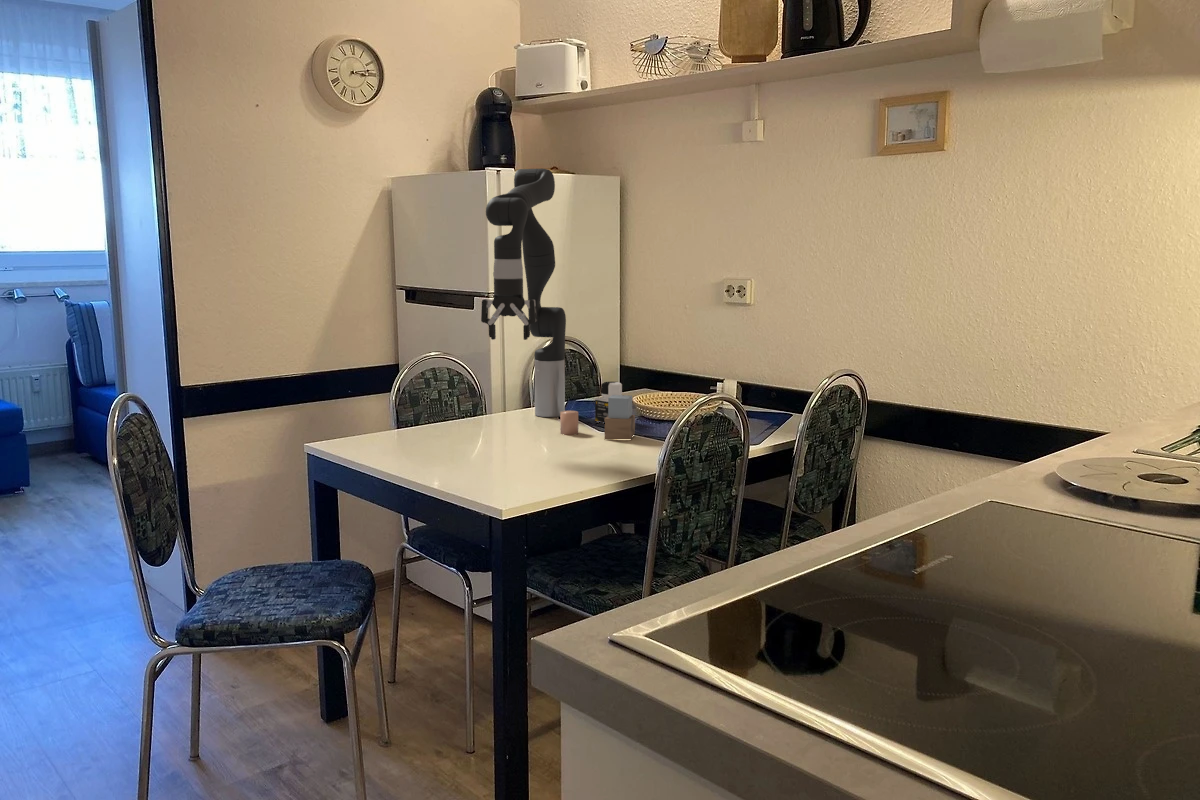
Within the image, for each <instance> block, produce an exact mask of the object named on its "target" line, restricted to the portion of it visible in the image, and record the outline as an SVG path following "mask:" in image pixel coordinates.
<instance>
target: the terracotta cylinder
mask: <svg viewBox="0 0 1200 800" xmlns="http://www.w3.org/2000/svg"><path fill="white" fill-rule="evenodd" d="M559 417H560V425H559V426H560V435H563V434H564V436H575V435H574V434H576V435H578V434H579V411H577V410H565V411H561V412H560V416H559Z"/></svg>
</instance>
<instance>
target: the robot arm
mask: <svg viewBox="0 0 1200 800" xmlns="http://www.w3.org/2000/svg"><path fill="white" fill-rule="evenodd" d="M513 177H514V178H513V186H514V188H512V189H510V190H509V191H508V192H507V193H503V194H499V195H496V196H494V197H492V198H491V199H490V200H488V202H487V204H486V207H485V216H486V219H487V221H488V222H489V223H490V224H491V225H493V226H496V227H497V226H498V227H500V226H501V227H503V226H506V227H508V226H509V227H510V226H511V227H512V228H511V230H510V232H509V233H506V234H501V235H498V236H496V237H495V238H494V241H493V255H494V256H493V257H494V262H493V273H492V274H493V299H487V298H485V299H482V301H481V313H480V314H481V316H480V317H481V318H480V320H481V323H484V324H487V326H488V337H489V338H490V340H492V341H493V340H494V341H495V340H496V337H497V335H496V331H497V330H496V324H495V323H496V321H497V320H498V319H499V318H500V316H502V317H508V316H509V317H518V319H520V321H521V322H522V323H523V324H524V325H522V326H523V327H522V328H523V329H522V330H523V333H522V334H523V340H524V341H525V340H526V341H527V340H528V338H530V337H531V335H532V336H533V337H535V338H552V340H551V343H550V344H548V345H547V346H543V347H541V348H538V349H535V351H534V415H535V416H537V417H543V418H557V417H560V412H561V411H566V409H565V408H566V401H565V400H566V398H565V397H566V396H565V395H566V389H565V387H566V378H565V377H566V375H565V373H566V372H565V369H566V368H565V365H566V364H565V362H566V360H565V353H566V351H565V350H566V328H567V324H566V323H567V319H566V318H567V315H566V312H565V310H564V308H562V307H559V306H557V307H556V306H542V305H541V304H542V303H541V297H542V295H543V291H544V290H545V287H546V286H547V284H548V282H549V280H550V279H551V277H552V275H553V273H554V271H555V268H556V257H555V255H556V254H555V246H554V242H553V240H552V239H551V237H550V235H549V234H548V233H547V231H546V230H545V229H544V228H543V226H542V225H541V224H540V222H539V220H538V219H537V218H536V216H535V213H534V211H533V207H535V206H537V205H539V204H542V203H543V202H548V201H550V200H551V199H553V196H554V194H555V190H556V184H555V183H556V181H555V176H554V174H553V172H552V171H551V170H549V169H547V168H519V169H517V170H516V171H515V173H514V176H513ZM522 255H523V259H522ZM523 264H524V265H523ZM523 266H524V268H523ZM524 272H525V279H526V288H527V289H526V290H527V299H526V300H525V298H524ZM525 305H526V306H527V309H528V310H527V311H528V313H527V314H528V316H527V315H526V314H525V312H524V310H523V308H524V307H525ZM491 306H493V307H494V309H495V311H494V312H493V313H492V316H491V317H490V318H489V309H490V308H491Z"/></svg>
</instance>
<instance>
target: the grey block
mask: <svg viewBox="0 0 1200 800" xmlns="http://www.w3.org/2000/svg"><path fill="white" fill-rule="evenodd" d="M632 415H633V395H626V394H622V395H612V396H610V397H609V398H608V418H619V419H629V418H630V417H631V416H632Z"/></svg>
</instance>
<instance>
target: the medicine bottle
mask: <svg viewBox="0 0 1200 800" xmlns="http://www.w3.org/2000/svg"><path fill="white" fill-rule="evenodd" d="M612 395H623V384H622V383H621V382H618V381H604V382H602V384H601V397H596V398H595V399H594V405H595V406H594V407H595V409H594V414H595V415H594V422H595V421H601V422H605V418H606V417H607V416H608V398H609V397H610V396H612Z"/></svg>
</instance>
